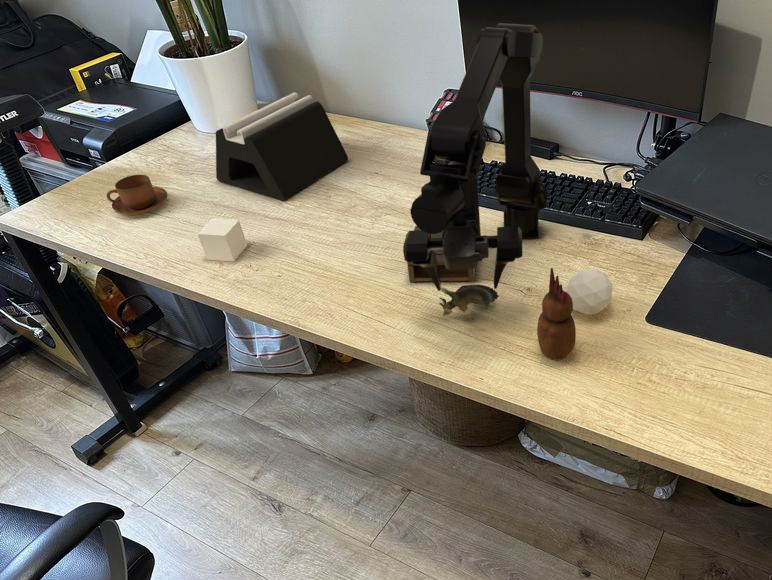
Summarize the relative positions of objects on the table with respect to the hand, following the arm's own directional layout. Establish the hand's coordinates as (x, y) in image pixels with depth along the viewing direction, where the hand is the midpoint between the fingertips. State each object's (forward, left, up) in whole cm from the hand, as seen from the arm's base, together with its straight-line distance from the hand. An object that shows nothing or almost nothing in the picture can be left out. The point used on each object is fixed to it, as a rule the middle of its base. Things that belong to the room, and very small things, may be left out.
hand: (467, 288), depth 109 cm
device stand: (+49, -57, -6) cm, 75 cm away
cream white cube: (+51, -21, -6) cm, 55 cm away
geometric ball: (-20, -1, -6) cm, 21 cm away
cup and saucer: (+78, -41, -6) cm, 88 cm away
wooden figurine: (-14, +10, -6) cm, 18 cm away
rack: (+6, -16, -6) cm, 18 cm away
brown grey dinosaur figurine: (+1, -1, -6) cm, 6 cm away
